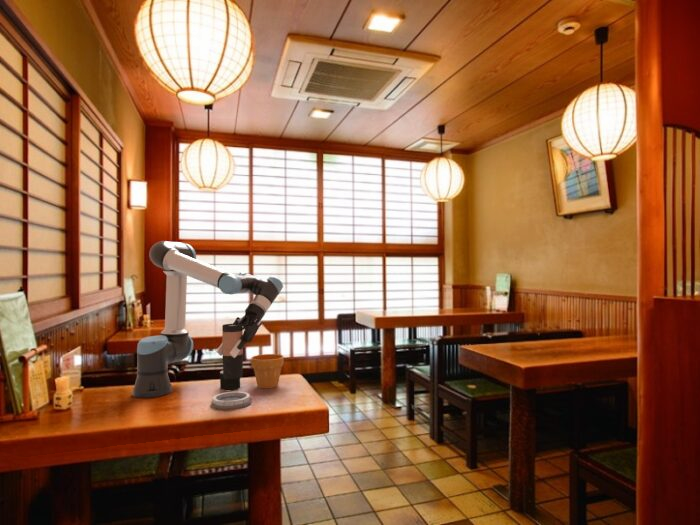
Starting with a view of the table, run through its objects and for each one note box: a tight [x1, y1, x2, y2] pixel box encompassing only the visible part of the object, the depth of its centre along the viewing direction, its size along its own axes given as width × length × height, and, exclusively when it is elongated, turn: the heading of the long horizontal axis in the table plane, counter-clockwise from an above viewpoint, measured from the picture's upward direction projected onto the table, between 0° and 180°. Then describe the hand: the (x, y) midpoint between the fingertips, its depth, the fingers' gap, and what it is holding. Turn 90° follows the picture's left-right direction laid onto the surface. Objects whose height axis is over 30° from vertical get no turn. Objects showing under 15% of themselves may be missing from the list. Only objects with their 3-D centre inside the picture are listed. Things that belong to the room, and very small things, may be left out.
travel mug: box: [221, 323, 244, 379], centre depth 166 cm, size 8×8×20 cm
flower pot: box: [250, 353, 285, 389], centre depth 191 cm, size 14×14×13 cm
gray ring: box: [210, 391, 252, 411], centre depth 165 cm, size 15×15×3 cm
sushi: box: [219, 370, 241, 391], centre depth 189 cm, size 8×8×8 cm
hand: (225, 354), depth 163 cm, fingers closed on travel mug, 7 cm apart
